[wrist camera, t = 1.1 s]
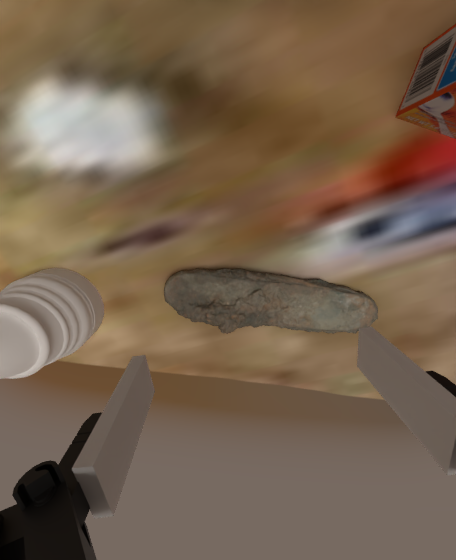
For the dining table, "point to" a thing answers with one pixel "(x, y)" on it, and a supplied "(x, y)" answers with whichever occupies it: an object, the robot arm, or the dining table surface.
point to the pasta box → (433, 87)
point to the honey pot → (45, 319)
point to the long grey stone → (267, 301)
